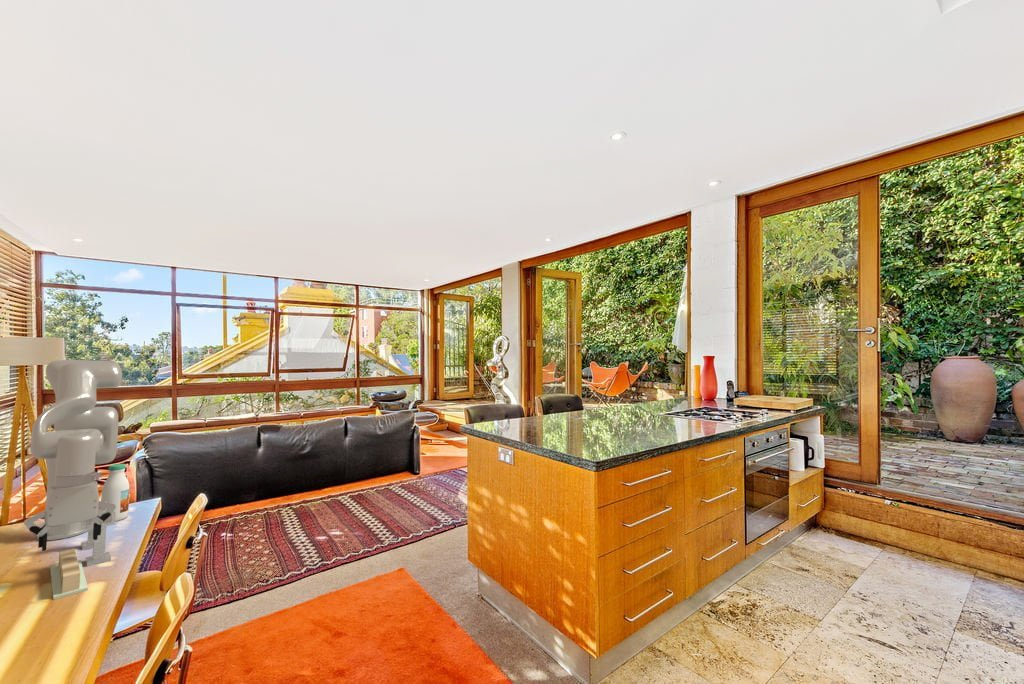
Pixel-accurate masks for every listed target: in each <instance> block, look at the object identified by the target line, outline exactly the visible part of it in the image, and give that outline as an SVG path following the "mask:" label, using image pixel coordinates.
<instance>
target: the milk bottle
mask: <svg viewBox="0 0 1024 684" xmlns="http://www.w3.org/2000/svg"><path fill="white" fill-rule="evenodd" d="M126 467H127V466H126V464H125V463H115V464H110V465H109V466H108V477H107V479H106V480H105V482H104V484H103V485H102V489H101V494H100V495H101V497H100V501H101V502H104V500H108V501H109V503H110V504H115V506H116V508H115V509H114V512H115V513H116V514H115V522H118V521H122V520H123V521H124V520H126V519H127V518H128V516H129V506H130V505H129V504H130V503H129V502H130V482H129V480H128V478H127V476H126V474H125V470H126ZM101 508H102V507H99V509H101ZM103 514H104V513H100V517H101V516H102V515H103ZM107 520H110V517H108V518H107V519H106V520H105V521H107Z"/></svg>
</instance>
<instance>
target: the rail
mask: <svg viewBox="0 0 1024 684" xmlns="http://www.w3.org/2000/svg"><path fill="white" fill-rule="evenodd" d="M78 561H79V560H78V557H77V553H76V549H75V547H72V548H68V549H64V550H59V552H58V567H59V574H60V581H61V588H62V594H63V593H66V592H70V591H74V590H78V589H79V587H80V569H79V565H78Z"/></svg>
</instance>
